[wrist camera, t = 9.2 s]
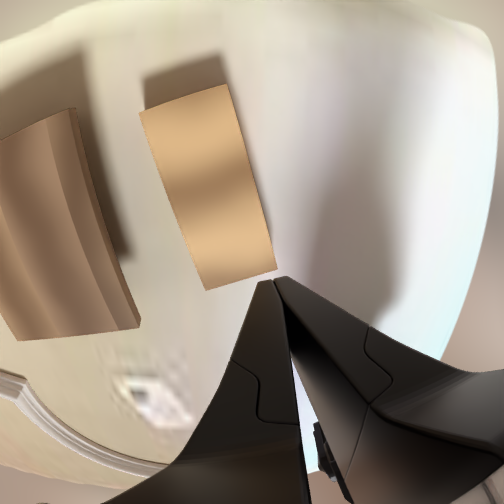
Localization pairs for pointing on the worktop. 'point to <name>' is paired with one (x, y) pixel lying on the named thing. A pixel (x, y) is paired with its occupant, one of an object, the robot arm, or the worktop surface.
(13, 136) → the laid planks
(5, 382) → the molding
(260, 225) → the oak plank
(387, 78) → the worktop surface
